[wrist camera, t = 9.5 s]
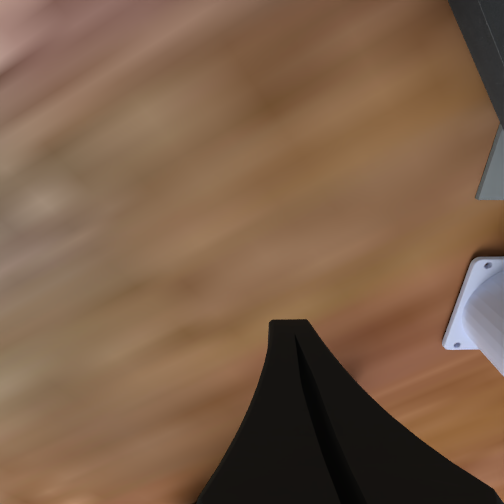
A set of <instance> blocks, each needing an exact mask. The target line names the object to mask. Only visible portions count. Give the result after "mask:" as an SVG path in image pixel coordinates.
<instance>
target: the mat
mask: <svg viewBox="0 0 504 504" xmlns="http://www.w3.org/2000/svg"><path fill="white" fill-rule="evenodd" d="M475 198H476V199H478V200H504V130H503V128H502V125H501V123H500V125H499V128H498V131H497V134H496V137H495V140H494V143H493V146H492V149H491V152H490V155H489V158H488V161H487V164H486V167H485V170H484V173H483V176H482V179H481V182H480V185H479V188H478V191H477V194H476V197H475Z"/></svg>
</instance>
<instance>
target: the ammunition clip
mask: <svg viewBox="0 0 504 504" xmlns="http://www.w3.org/2000/svg"><path fill="white" fill-rule="evenodd" d="M448 2H449V4H450V7H451V9H452V11H453V14H454V16H455V18H456V21H457V23H458V25H459V27H460V30H461V32H462V34H463V37H464V39H465V41H466V44H467V46H468V48H469V51H470V53H471V55H472V58H473V60H474V62H475V65H476V67H477V69H478V72H479V74H480V76H481V79H482V81H483V83H484V86H485V88H486V90H487V93H488V95H489V97H490V100H491V102H492V104H493V107H494V109H495V111H496V114H497V116H498V118H499V121H500V123H501V125H502V128H503V130H504V0H448Z"/></svg>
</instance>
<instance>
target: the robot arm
mask: <svg viewBox="0 0 504 504" xmlns="http://www.w3.org/2000/svg"><path fill="white" fill-rule="evenodd" d="M486 263H488V264H487V265H486V266H484V265H485V264H486ZM455 343H456V344H455ZM442 345H443V347H444V348H445V349H448V350H460V349H480V350H481V352H482V353H483V354H484V355H485V356H486V357H487V358H488V359H489V360H490V362H491V363H492V364H493V365H494V366H495V367H496V368H497V369H498V370H499V372H500V373H501V374H502V375H503V376H504V257H477V258H475V259H473V260H472V262H471V263H470V266H469V269H468V272H467V274H466V277H465V280H464V283H463V286H462V288H461V291H460V294H459V297H458V299H457V302H456V305H455V308H454V311H453V313H452V316H451V319H450V322H449V324H448V327H447V330H446V333H445V336H444V338H443V341H442ZM196 504H504V503H503V502H502V500H501V499H500V498H499V496H498V495H497V493H496V492H495V490H494V489H493V488H491V487H490V486H488V485H486V484H485V483H483V482H482V481H480V480H479V479H477V478H476V477H474V476H472V475H471V474H469V473H468V472H466V471H465V470H463V469H462V468H460V467H459V466H457V465H455V464H454V463H452V462H451V461H449V460H448V459H447V458H445V457H444V456H442V455H441V454H440V453H438V452H437V451H435V450H434V449H433V448H431V447H430V446H429V445H427V444H426V443H424V442H423V441H422V440H421V439H419V438H418V437H417V436H415V435H414V434H413V433H412V432H410V431H409V430H408V429H407V428H406V427H404V426H403V425H402V424H401V423H399V422H398V421H397V420H396V419H394V418H393V417H392V416H391V415H390V414H389V413H388V412H386V411H385V410H384V409H383V408H382V407H381V406H380V405H379V404H378V403H377V402H376V401H375V400H374V399H373V398H371V397H370V396H369V395H368V394H367V393H366V392H365V391H364V390H363V388H362V387H361V386H360V385H359V384H358V383H357V382H356V381H355V380H354V379H353V378H352V377H351V376H350V374H349V373H348V372H347V371H346V370H345V369H344V368H343V366H342V365H341V364H340V363H339V361H338V360H337V359H336V358H335V357H334V355H333V354H332V353H331V352H330V350H329V349H328V348H327V346H326V345H325V344H324V342H323V341H322V340H321V338H320V337H319V336H318V334H317V333H316V331H315V330H314V328H313V327H312V325H311V324H310V322H309V321H308V320H307V319H297V320H271V321H270V322H269V332H268V349H267V354H266V358H265V363H264V366H263V369H262V373H261V376H260V379H259V382H258V385H257V388H256V391H255V393H254V396H253V398H252V401H251V403H250V406H249V408H248V410H247V412H246V415H245V417H244V419H243V421H242V423H241V425H240V427H239V429H238V432H237V433H236V435H235V437H234V439H233V441H232V443H231V445H230V446H229V448H228V450H227V452H226V454H225V455H224V457H223V459H222V461H221V462H220V464H219V466H218V467H217V469H216V471H215V472H214V474H213V475H212V477H211V478H210V480H209V481H208V483H207V484H206V486H205V488H204V489H203V491H202V492H201V494H200V495H199V497H198V501H197V503H196Z"/></svg>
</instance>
